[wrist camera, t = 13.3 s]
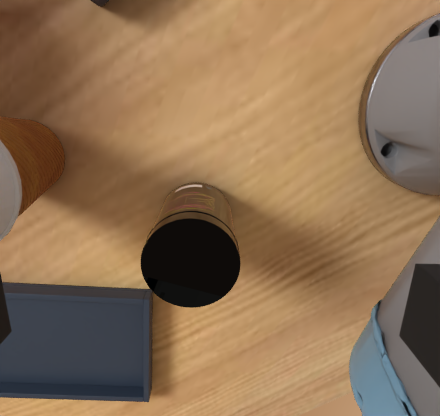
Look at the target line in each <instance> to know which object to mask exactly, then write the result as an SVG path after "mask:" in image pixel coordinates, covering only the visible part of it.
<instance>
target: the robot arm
mask: <svg viewBox="0 0 440 416" xmlns="http://www.w3.org/2000/svg"><path fill="white" fill-rule="evenodd" d="M359 132H360V137H361V141H362V145H363V147H364V150H365V152H366V154H367V156H368V158H369V160H370V161H371V163H372V164H373V166H374V167H375V168H376V169H377V170H378V171H379V172H380V173H381V174H382V175H383V176H385V177H386V178H387V179H389V180H390V181H392V182H394V183H396V184H398V185H400V186H402V187H404V188H407V189H409V190H411V191H414V192H418V193H422V194H428V195H440V13H439V14H436V15H433V16H431V17H429V18H426V19H424V20H422V21H420V22H418V23H416V24H415V25H413V26H411V27H410V28H409V29H407V30H406V31H404V32H403V33H402V34H401V35H399V36H398V37H397V38H396V39H395V40H394V41H393V42H392V43H391V44H390V45H389V46H388V47H387V48H386V49H385V51H384V52H383V53H382V55H381V56H380V57H379V59H378V60H377V62H376V63H375V65H374V66H373V68H372V70H371V72H370V74H369V76H368V78H367V81H366V83H365V86H364V89H363V92H362V96H361V100H360V106H359ZM11 332H12V330H11V325H10V320H9V314H8V309H7V304H6V299H5V294H4V289H3V284H2V279H1V274H0V344H1V343H2V342H3V341H4V340H5V339H6V337H7V336H8V335H9V334H10V333H11ZM349 374H350V382H351V387H352V390H353V393H354V397H355V400H356V402H357V404H358V406H359V408H360V410H361V412H362V416H440V216H439V218H438V219H437V221H436V222H435V224H434V225H433V227H432V228H431V229H430V231H429V232H428V234H427V235H426V237H425V238H424V240H423V241H422V243H421V244H420V246H419V247H418V248H417V250H416V251H415V253H414V254H413V256H412V257H411V259H410V260H409V262H408V263H407V265H406V266H405V267H404V269H403V270H402V272H401V273H400V275H399V276H398V278H397V279H396V281H395V282H394V284H393V285H392V286H391V288H390V289H389V291H388V292H387V294H386V295H385V297H384V298H383V299H382V300H380V301H379V302H378V303H377V304H376V305H375V306H374V308H373V309H372V312H371V318H370V320H369V322H368V323H367V325H366V327H365V328H364V330H363V332H362V333H361V335H360V337H359V339H358V340H357V342H356V344H355V345H354V347H353V350H352V352H351V357H350V363H349Z"/></svg>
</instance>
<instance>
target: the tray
mask: <svg viewBox="0 0 440 416" xmlns="http://www.w3.org/2000/svg"><path fill="white" fill-rule="evenodd" d="M2 284H3V289H4V294H5V299H6V304H7V309H8V314H9V320H10V325H11V330H12V332H11V333H10V334H9V335H8V336H7V337H6V339H5V340H4V341H3V342H2V343H1V344H0V397H8V398H40V399H72V400H104V401H136V402H143V401H144V402H149V398H150V394H151V389H152V299H153V291H152V290H151V289H131V288H110V287H89V286H68V285H47V284H25V283H4V282H2Z"/></svg>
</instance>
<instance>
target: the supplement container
mask: <svg viewBox="0 0 440 416" xmlns="http://www.w3.org/2000/svg"><path fill="white" fill-rule="evenodd" d="M141 270H142V274H143V277H144V279H145V281H146V283H147V285H148V286H149V288H150V289H151V290H152V291H153V292H154V293H155V294H156V295H157V296H158V297H160V298H161V299H163V300H165V301H166V302H168V303H171V304H173V305H177V306H181V307H201V306H206V305H209V304H212V303H214V302H216V301H218V300H219V299H221V298H222V297H224V296H225V295H226V294H227V293H228V292H229V291H230V290H231V289H232V287H233V286H234V284H235V282H236V280H237V278H238V275H239V271H240V256H239V248H238V243H237V240H236V236H235V231H234V225H233V220H232V214H231V209H230V205H229V203H228V201H227V199H226V198H225V196H224V195H223V194H222V193H221V192H220V191H219V190H217V189H216V188H214V187H213V186H210V185H208V184H204V183H188V184H184V185H182V186H180V187H178V188H176V189H175V190H173V191H172V192H171V193H170V194H169V195H168V197H167V198H166V200H165V202H164V204H163V206H162V208H161V211H160V213H159V215H158V217H157V220H156V222H155V224H154V226H153V229H152V230H151V232H150V234H149V236H148V238H147V240H146V243H145V245H144V248H143V251H142V255H141Z"/></svg>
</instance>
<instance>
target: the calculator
mask: <svg viewBox="0 0 440 416" xmlns="http://www.w3.org/2000/svg"><path fill="white" fill-rule="evenodd" d="M91 1H92V2H94V3H95V4H96V5H98V6H103V5H105V4H106V3H107V2H108V1H109V0H91Z"/></svg>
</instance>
